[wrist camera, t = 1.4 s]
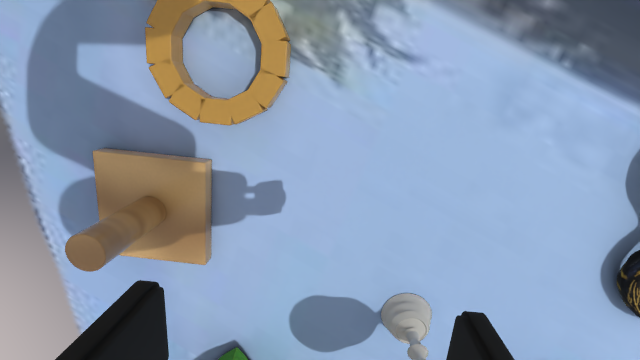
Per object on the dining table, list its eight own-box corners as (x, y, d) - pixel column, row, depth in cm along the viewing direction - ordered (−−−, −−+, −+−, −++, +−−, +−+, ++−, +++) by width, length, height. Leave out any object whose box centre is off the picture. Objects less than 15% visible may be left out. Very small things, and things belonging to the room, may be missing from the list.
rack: (104, 147, 29) (-1, 173, 20) (211, 159, 29) (155, 190, 20) (112, 246, 32) (23, 308, 23) (211, 257, 32) (161, 324, 23)
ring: (156, -27, 25) (141, -36, 23) (295, -14, 25) (291, -22, 23) (161, 115, 28) (149, 117, 26) (285, 128, 28) (281, 130, 26)
